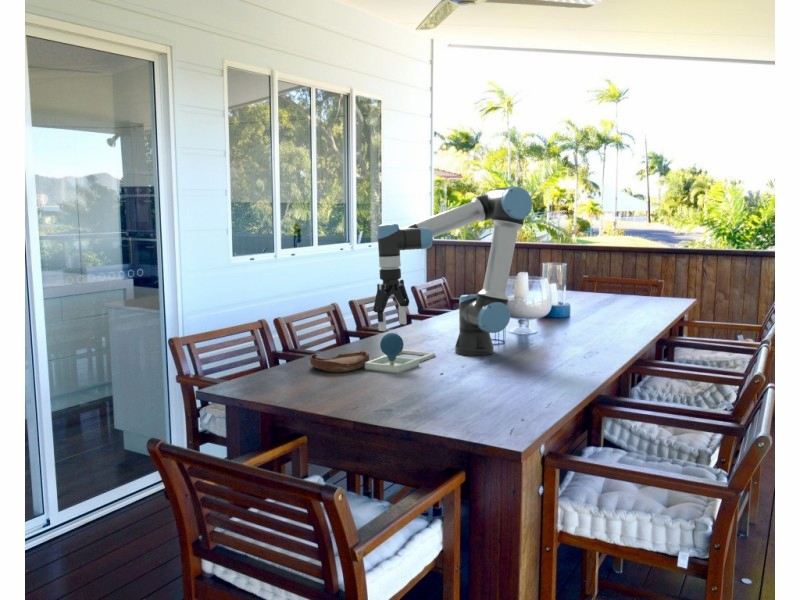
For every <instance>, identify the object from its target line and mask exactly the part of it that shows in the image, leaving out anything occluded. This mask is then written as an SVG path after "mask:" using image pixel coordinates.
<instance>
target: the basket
mask: <svg viewBox="0 0 800 600" xmlns="http://www.w3.org/2000/svg"><path fill="white" fill-rule="evenodd" d="M317 356H318V355H317V354H315V353H313V354H310V356H309V360H310V365H311V366H312V367H313V368H316V369H318V370H321V371H323V372H324V371H325V372H328V373H344V372H350V371H351V372H352V371H355V370H358V369H361V368H363V367H365V362H368V361H370V355H369V351H366V350H362V351H359V352H348V353H339V354H338V355H336V356H333V357H332V358H322V357H321V358H320V357H317Z"/></svg>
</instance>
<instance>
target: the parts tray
mask: <svg viewBox="0 0 800 600" xmlns="http://www.w3.org/2000/svg"><path fill="white" fill-rule="evenodd" d="M382 356H383V355H382ZM379 357H380V356H379ZM379 357H378V358H377V357H376V358H375V359H371V360H369V361H368V362H365V366H364V370H366V371H367V370H368V371H374V372H383V373H390V374H396V375H397V374H398V375H399V374H402V373H404V372H407V371H409V370H412V369H414V368H417V367H419V365H420V362H419V359H417V358H414V357H405V356H398V355H397V356H396V359H395V360H394V361H395V364H394V365H389V361H390V360H389V359H388V356H387V355H386V356H383V357H380V358H379Z"/></svg>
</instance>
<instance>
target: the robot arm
mask: <svg viewBox="0 0 800 600" xmlns="http://www.w3.org/2000/svg"><path fill="white" fill-rule="evenodd" d="M532 209H533V199H532V196H531V195H530V193H529V192H528V190H527V189H525V188H523V187H520V186H514V185H513V186H512V185H511V186H505V187H497V188H494V189H492V190H490V191H488V192H485V193H483V194H481V195H479V196H475V197H473V198H472V200H471V201H470V202H467V203H465V204H462V205H459V206H457V207H454V208H451V209H448V210H446V211H443V212H440V213H437V214H436V215H433V216H430V217H428V218H425V219H422V220H419V221H417V222H414V223H412V224H409V225H407V226H406V225H405V226H400V227H399V224H398V223H384V224H379V225H378V226H377V236H376V237H377V245H378V248H377V249H378V262H379V264H378V265H379V266H378V267H379V268H380V269H379V280H381V281H382V283H377V285H376V286H377V287H376V288H377V289H376V290H377V291H376V295H375V297H374V298H375V299H374V303H373V309H372V311H373V312H374V313H376V314H377V325H378V331H379V332H380V331H381V332H386V331H387V317H386V314H387V313H386V312H385V310H386V306H387V304H388V301H389V299H390V297H391V296H392V295H394V297H395V299H396V302H397V303H398V304H399V306H398V307H397V308H398V323H399V325H407V307H409V304H410V299H409V296H408V292H407V290H406V287H405V281H404V279H401V278H402V269H401V268H400V267H401V265H402V264H401V251H407V250H408V251H411V250H413V251H414V250H426V249H430V248H431V247H432V246H433V240H434V238H435V237H438V236H441V235H443V234H447V233H448V232H451V231H454V230H456V229H460V228H462V227H464V226H468V225H470V224H472V223H476V222H478V221H479V222H481V223H482V222H486V221H488V220H491V222H492V223H493V224H494V229H493V235H492V239H491V245H490V249H489V255H488V260H487V264H486V271H485V276H484V280H483V286H482V288H481V290H480V291H478V292H477V294H475V293H474V294H461V295H460V297H459V302H458V309H459V310H458V311H459V312H458V313H459V316H458V319H459V321H458V322H459V323H458V324H459V326H458V327H459V331H458V337H457V340H456V343H455V347H454V352H455V353H456V354H458V355H461V356H469V357H473V356H474V357H481V356H488V355H489V356H490V355H492V354H494V352H495V350H494V349H495V347H494V343H493V340H492V337H491V334H490V333H492V334H497V333H500V332H502V331H503V330H504V329H506V328H507V326H508V325H509V323H510V320H511V311H510V309H509V307H508V303H509V296H507V293H506V292H507V287H508V284H509V283H508V282H509V277H510V274H511V273H510V272H511V267H512V262H513V256H514V251H515V246H516V242H517V236H518V232H519V230H520V229H521V228H522V227H524V223H525V218H527V217H528V216H529V215H530V213H531V212H532Z"/></svg>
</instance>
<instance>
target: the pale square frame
mask: <svg viewBox="0 0 800 600" xmlns="http://www.w3.org/2000/svg"><path fill="white" fill-rule="evenodd" d="M401 354H406V355H414V356H415V355H416V356H420V357H417V358H416V359H419V363H421V362H423V361H426V360H428V359H432V358H434V357H436V352H430V351H420V350H412V349H411V350H410V349H402V351H401V353H400V354H399V355H401ZM383 356H386V355H385V354H383V355H381V356H379V357H378V358H380V357H383Z"/></svg>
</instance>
